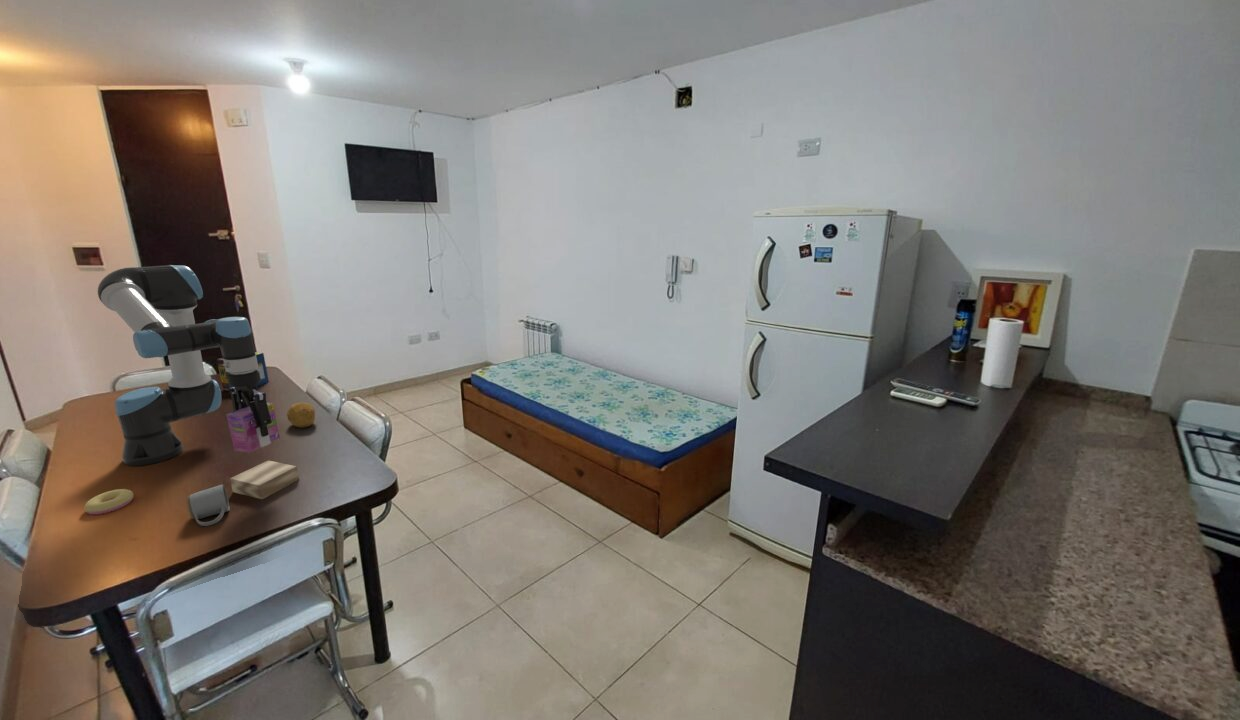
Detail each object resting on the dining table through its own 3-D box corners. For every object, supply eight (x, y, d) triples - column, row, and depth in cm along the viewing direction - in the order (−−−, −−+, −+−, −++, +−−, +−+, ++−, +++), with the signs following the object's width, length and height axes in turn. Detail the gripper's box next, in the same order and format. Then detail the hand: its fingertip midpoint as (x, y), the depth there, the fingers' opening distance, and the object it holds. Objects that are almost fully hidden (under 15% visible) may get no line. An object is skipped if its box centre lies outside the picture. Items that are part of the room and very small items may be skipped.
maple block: (233, 493, 146) (229, 478, 144) (271, 474, 157) (268, 460, 155) (262, 500, 142) (259, 485, 141) (299, 480, 153) (296, 466, 152)
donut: (142, 504, 142) (113, 498, 143) (143, 490, 142) (114, 483, 142) (104, 520, 132) (73, 513, 133) (104, 504, 132) (73, 497, 132)
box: (250, 453, 140) (241, 415, 137) (234, 451, 141) (225, 414, 138) (281, 438, 150) (273, 402, 146) (265, 436, 151) (258, 401, 148)
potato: (287, 411, 182) (315, 403, 188) (281, 403, 192) (307, 396, 198) (294, 434, 185) (321, 425, 191) (288, 424, 195) (314, 416, 200)
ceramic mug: (192, 512, 135) (186, 489, 133) (229, 502, 140) (223, 479, 138) (191, 532, 127) (185, 507, 125) (230, 520, 133) (224, 496, 130)
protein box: (222, 390, 227) (215, 359, 223) (251, 380, 242) (245, 350, 238) (241, 392, 226) (235, 360, 221) (269, 381, 240) (263, 352, 236)
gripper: (208, 369, 139) (225, 441, 146) (248, 379, 132) (264, 454, 138) (237, 363, 146) (251, 432, 152) (277, 371, 138) (291, 444, 145)
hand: (257, 442), depth 145 cm, fingers closed on box, 6 cm apart
